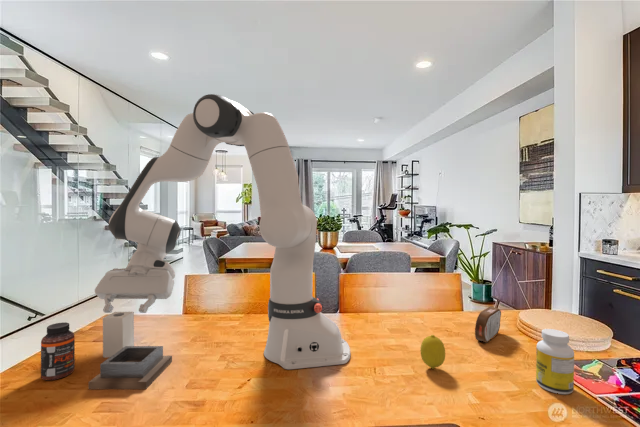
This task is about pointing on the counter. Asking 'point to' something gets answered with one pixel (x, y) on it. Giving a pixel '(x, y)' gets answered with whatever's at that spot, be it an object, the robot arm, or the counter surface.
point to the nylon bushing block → (117, 332)
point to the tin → (487, 324)
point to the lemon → (432, 351)
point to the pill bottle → (555, 362)
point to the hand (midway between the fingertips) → (124, 311)
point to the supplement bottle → (57, 352)
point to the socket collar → (123, 369)
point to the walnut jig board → (130, 382)
